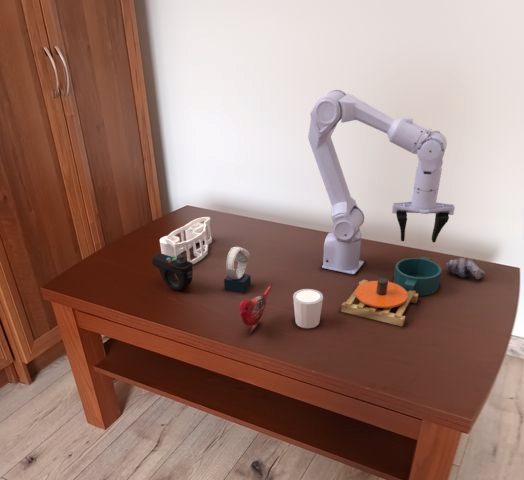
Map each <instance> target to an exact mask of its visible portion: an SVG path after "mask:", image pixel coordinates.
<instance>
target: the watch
mask: <svg viewBox="0 0 524 480" xmlns="http://www.w3.org/2000/svg"><path fill="white" fill-rule="evenodd" d="M250 256H251V254H250V252H249V251H248V250H247V249H246V248H244V247H241V246H233V247H231V248H230V249H229V251H228V253H227V257H226V264H225V265H226V271H225V272H226V274H227V275H226V276H225V277H224V279H223V283H224V290H225V291H230V292H234V293H240V294H246V292H247V291H248V290H249V289H250V287H251V286H252V277H251V274H249V273H245V272H246V269H247V264H248V263H249V259H250ZM235 262H236V263H237V267H236V269H235Z"/></svg>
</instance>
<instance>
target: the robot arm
mask: <svg viewBox="0 0 524 480" xmlns="http://www.w3.org/2000/svg"><path fill="white" fill-rule="evenodd" d="M309 114H310V122H309V129H308V130H309V131H308V136H307V138H308V142H309V145H310V149H311V151H312V153H313V156H314V159H315V162H316V165H317V167H318V171H319V173H320V176H321V179H322V182H323V184H324V187H325V190H326V194H327V195H328V199H329V201H330V204H331V214H330V215H331V220H332V232H328V233H327V234H326V237H325V239H324V243H323V259H322V262H323V263H322V266H321V268H322V269H325V270H331V271H334V272H338V273H339V272H340V273H345V274H348V275H356V273H357V272H358V271H359V270H360V269H361V267H362V266H363V265H364V263H365V261H364V260H360V257H361V247H362V246H361V244H362V237H363V236H362V235H363V234H362V232H361V227H362V225H363V224H364V222H365V214H364V212H363V210H362V209H361V208H360V207H359V206H358V204H357V201H356V199H354V198H353V197H352V196H351V193H350V189H349V187H348V184H347V181H346V178H345V175H344V172H343V169H342V166H341V163H340V160H339V157H338V154H337V151H336V149H335V146H334V142H333V139H332V135H333V134H334V131H335V130H336V127H337V125H338V124H339V122H341V123H349V122H352V121H357V122H360V123H362V124H365V125H367V126H369V127H371V128H373V129H376V130H378V131H380V132H382V133H385V134H386V135H387V137H388V140H389V142H390V143H391V144H394V145H396V146H398V147H400V148H401V149H403V150H405V151H407V152H409V153H411V154H414V155H416V156H417V159H418V162H417V166H416V169H415V176H414V177H415V178H414V184H413V190H412V196H411V201H404V202H393V203H392V206H391V213H392V214H396V215H395V216H396V220H397V223H398V225H399V229H400V241H401V242H405V239H406V227H407V221H408V214H409V213H410V214H421V215H429V214H435V217H434V218H435V219H434V225H433V229H432V234H431V242H432V243H436V241H437V239H438V236H439V234H440V232H441V231H442V229H443V228H444V226H445V225H446V224H447V223H448V221H449V220H450V216H454V215H455V214H454V213H455V209H456V207H455V204H450V203H443V202H442V203H441V202H437V201H438V194H439V189H440V182H441V177H442V171H443V168H442V166H443V163H444V162H443V161H444V160H443V159H444V156H445V152H446V150H447V146H448V145H447V144H448V142H447V141H448V140H447V138H446V136H445V135H444V134H443V133H442V132H440V131H439V130H432V129H431V128H429V127H427V129H426V128H425V127H423V126H421V125H419V124H417V123H415V122H414V118H412V117H410V116H408V117H407V118H405V117H403V116H402V117H399V118H397V119H396V118H395V119H394V118H392V117H391V116H389V115H387V114H385V113H384V112H382V111H380V110H379V109H377V108H375V107H374V106H371V105H370V104H368V103H367V102H364V101H362V100H361V99H359V98H358V97H356V96H355V95H353V94H350V93H346V92H344V91H343V90H341V89H333V90H331V91H329V92H328V93H327V94H326V95H324V96H323V97H321V98H319V99H318V100H317V101H316V103H315V104H314V106H313V107H312V109H311V111H310V113H309Z"/></svg>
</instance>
